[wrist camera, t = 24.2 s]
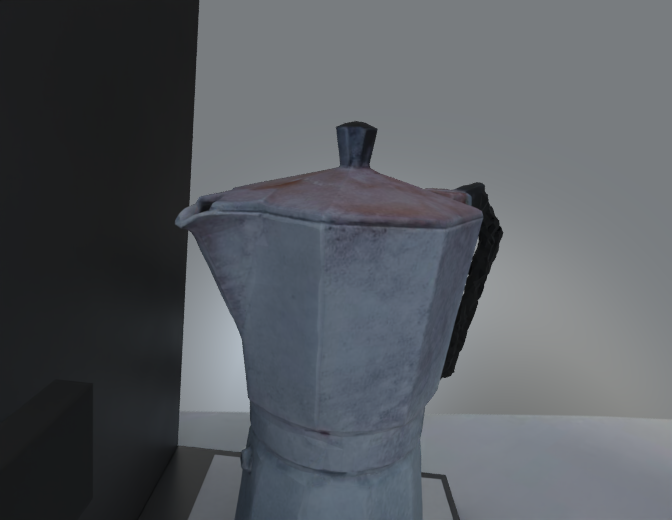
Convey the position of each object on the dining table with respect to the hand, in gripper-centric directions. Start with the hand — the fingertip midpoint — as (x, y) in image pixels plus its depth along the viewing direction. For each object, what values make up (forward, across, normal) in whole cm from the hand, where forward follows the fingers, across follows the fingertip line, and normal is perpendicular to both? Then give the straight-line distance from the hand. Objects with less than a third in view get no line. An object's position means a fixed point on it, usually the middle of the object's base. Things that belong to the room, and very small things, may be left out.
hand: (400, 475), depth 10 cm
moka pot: (+10, 0, -13) cm, 16 cm away
